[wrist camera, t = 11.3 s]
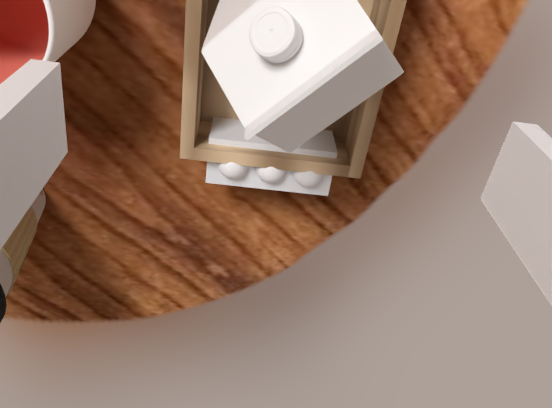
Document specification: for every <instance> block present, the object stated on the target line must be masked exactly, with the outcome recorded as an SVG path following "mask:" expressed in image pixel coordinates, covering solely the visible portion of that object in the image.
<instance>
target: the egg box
mask: <svg viewBox="0 0 552 408" xmlns="http://www.w3.org/2000/svg"><path fill="white" fill-rule="evenodd" d="M244 131H245V128H244V126H243V125H242V123H241V121H240V120H237V119H228V118H220V117H213V121H212V126H211V130H210V135H209V143H208V144H216V145H224V146H233V147H242V148H250V149H259V150H268V151H276V152H285V153H289V152H287V151H285V150H283V149H281V148H279V147H277V146H275V145H273V144H271V143H270V142H268V141H266V140H264V139H262V138H260V137H258V136H256V135H254V136H253V137H251V138H250V139H249V140H245V139H244ZM290 153H294V154H302V155H311V156H319V157H328V158H337V154H338V152H337V148H336V144H335V140H334V136H333V132H332V131H328V130H322V131H321V132H319V133H318V134H317V135H315V136H314V137H312V138H311V139H309V140H308V141H307V142H305V143H304V144H302V145H301V146H299V147H298V148H297V149H295V150H294V151H292V152H290ZM331 180H332V175H324V174H315V173H314V172H312V171H307V172H297V171H288V170H279V169H276V168H274V167H267V168H262V167H253V166H244V165H238V164H236V163H233V162H230V163H227V164H226V163H217V162H208V161H207V171H206V183H213V184H222V185H231V186H241V187H250V188H259V189H268V190H277V191H286V192H296V193H305V194H314V195H323V196H328V193H329V189H330V184H331Z"/></svg>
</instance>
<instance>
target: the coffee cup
mask: <svg viewBox="0 0 552 408" xmlns="http://www.w3.org/2000/svg"><path fill="white" fill-rule="evenodd" d="M45 204H46V196H45V193H44V190H43V189H42V190H41V192H40V193H39V195H38V196H37V197H36V199H35V200H34V202H33V203H32V205H31V206H30V208H29V209H28V211H27V212H26V213H25V215H24V216H23V218H22V219H21V221H20V222H19V224H18V225H17V227H16V228H15V229H14V231H13V232H12V234H11V235H10V237H9V238H8V240H7V241H6V243H5V244H4V245H3V247H2V248H1V250H0V322H1V321H2V319H3V317H4V315H5V311H6V296H7V295H8V294H9V292H10V291H11V289H12V287H13V285H14V283H15V281H16V278H17V276H18V274H19V271H20V269H21V267H22V264H23V262H24V259H25V257H26V255H27V252H28V250H29V248H30V245H31V243H32V240H33V238H34V236H35V233H36V230H37V224H38V221H39V219H40V217H41V215H42V212H43V210H44V208H45Z"/></svg>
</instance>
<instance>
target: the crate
mask: <svg viewBox="0 0 552 408" xmlns="http://www.w3.org/2000/svg"><path fill="white" fill-rule="evenodd" d="M357 1H358V3H359V4H360V5H361V7H362V8H363V10H364V11H365V13H366V14H367V16H368V17H369V19H370V20H371V22H372V23H373V25H374V26H375V28H376V29H377V31H378V32H379V34H380V35H381V36H382V38H383V40H384V41H385V43H386V44H387V46H388V48H389V49H390V51H391V52H392V54H393V52H394V48H395V44H396V40H397V37H398V33H399V29H400V25H401V21H402V17H403V14H404V10H405V6H406V2H407V0H357ZM218 3H219V0H186V15H185V40H184V66H183V91H182V116H181V142H180V158H182V159H191V160H199V161H208V162H217V163H226V164H227V163H230V162H233V163H236V164H238V165H244V166H253V167H262V168H267V167H274V168H276V169H279V170H288V171H297V172H307V171H312V172H314V173H315V174H324V175H332V176H341V177H350V178H359V179H360V178H361V174H362V171H363V167H364V163H365V159H366V155H367V151H368V148H369V144H370V140H371V136H372V132H373V128H374V125H375V121H376V117H377V113H378V109H379V105H380V102H381V98H382V94H383V90H384V87H383V88H382V89H380V90H379V91H378V92H376V93H375V94H373V95H372V96H370V97H369V98H368V99H366V100H365V101H363V102H362V103H361V104H359V105H358V106H356V107H355V108H353V109H352V110H351V111H349V112H348V113H346V114H345V115H343V116H342V117H341V118H339V119H338V120H336V121H335V122H334V123H332V124H331V125H329V126H328V127H326V128H325V129H324V130H328V131H332V132H333V136H334V140H335V144H336V148H337V152H338V154H337V158H328V157H319V156H311V155H302V154H294V153H285V152H276V151H268V150H259V149H250V148H242V147H233V146H224V145H216V144H208V143H209V135H210V130H211V126H212V121H213V117H220V118H228V119H237V120H240V119H239V118H238V116H237V114H236V112H235V111H234V109H233V107H232V105H231V104H230V102H229V100H228V98H227V97H226V95H225V93H224V91H223V90H222V88H221V86H220V84H219V83H218V81H217V79H216V77H215V76H214V74H213V72H212V70H211V69H210V67H209V65H208V63H207V62H206V60H205V58H204V56H203V54H202V47H203V44H204V41H205V38H206V36H207V33H208V30H209V27H210V25H211V22H212V19H213V17H214V14H215V11H216V9H217V6H218Z"/></svg>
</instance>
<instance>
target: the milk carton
mask: <svg viewBox="0 0 552 408" xmlns="http://www.w3.org/2000/svg"><path fill="white" fill-rule="evenodd" d="M202 54H203V56H204V58H205V60H206V62H207V63H208V65H209V67H210V69H211V70H212V72H213V74H214V76H215V77H216V79H217V81H218V83H219V84H220V86H221V88H222V90H223V91H224V93H225V95H226V97H227V98H228V100H229V102H230V104H231V105H232V107H233V109H234V111H235V112H236V114H237V116H238V118H239V119H240V121H241V123H242V125H243V126H244V128H245V131H244V139H245V140H249V139H250V138H251V137H253V136H254V135H256V136H258V137H260V138H262V139H264V140H266V141H268V142H270V143H271V144H273V145H275V146H277V147H279V148H281V149H283V150H285V151H287V152H289V153H290V152H292V151H294V150H295V149H297V148H298V147H299V146H301V145H302V144H304V143H305V142H307V141H308V140H309V139H311V138H312V137H314V136H315V135H317V134H318V133H319V132H321V131H322V130H324V129H325V128H326V127H328V126H329V125H331V124H332V123H334V122H335V121H336V120H338V119H339V118H341V117H342V116H343V115H345V114H346V113H348V112H349V111H351V110H352V109H353V108H355V107H356V106H358V105H359V104H361V103H362V102H363V101H365V100H366V99H368V98H369V97H370V96H372V95H373V94H375V93H376V92H378V91H379V90H380V89H382V88H383V87H385V86H386V85H387V84H389V83H390V82H392V81H393V80H395V79H396V78H397V77H399V76H400V75H401V74H403V73H404V71H403V69H402V67H401V66H400V64H399V63H398V61H397V60H396V58H395V57H394V55H393V54H392V52H391V51H390V49H389V48H388V46H387V44H386V43H385V41H384V40H383V38H382V36H381V35H380V34H379V32H378V31H377V29H376V28H375V26H374V25H373V23H372V22H371V20H370V19H369V17H368V16H367V14H366V13H365V11H364V10H363V8H362V7H361V5H360V4H359V3H358V1H357V0H219V3H218V6H217V9H216V11H215V14H214V17H213V19H212V22H211V25H210V27H209V30H208V33H207V36H206V38H205V41H204V44H203V47H202Z"/></svg>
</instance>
